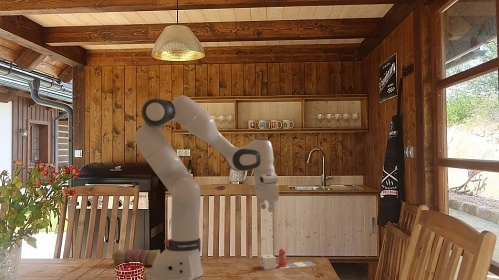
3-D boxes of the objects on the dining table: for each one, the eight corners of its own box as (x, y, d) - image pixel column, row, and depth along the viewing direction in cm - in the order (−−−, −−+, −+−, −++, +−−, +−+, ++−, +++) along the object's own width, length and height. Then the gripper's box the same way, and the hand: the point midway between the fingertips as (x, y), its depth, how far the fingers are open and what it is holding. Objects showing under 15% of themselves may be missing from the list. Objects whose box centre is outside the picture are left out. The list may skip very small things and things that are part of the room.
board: (280, 271, 156) (280, 268, 156) (275, 267, 161) (275, 264, 161) (316, 267, 160) (316, 265, 160) (310, 263, 166) (310, 261, 166)
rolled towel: (164, 259, 170) (121, 258, 173) (161, 245, 167) (118, 244, 170) (158, 271, 163) (114, 269, 166) (155, 257, 160) (110, 255, 163)
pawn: (279, 267, 157) (279, 250, 157) (276, 265, 160) (276, 247, 161) (288, 266, 158) (288, 249, 158) (285, 264, 161) (284, 247, 162)
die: (263, 271, 155) (263, 257, 155) (260, 267, 159) (260, 254, 160) (276, 269, 156) (276, 256, 156) (272, 266, 161) (272, 253, 161)
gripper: (250, 176, 169) (252, 207, 169) (265, 179, 150) (268, 214, 149) (263, 175, 171) (266, 206, 171) (280, 177, 151) (283, 212, 151)
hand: (267, 210), depth 160 cm, fingers open, 8 cm apart
